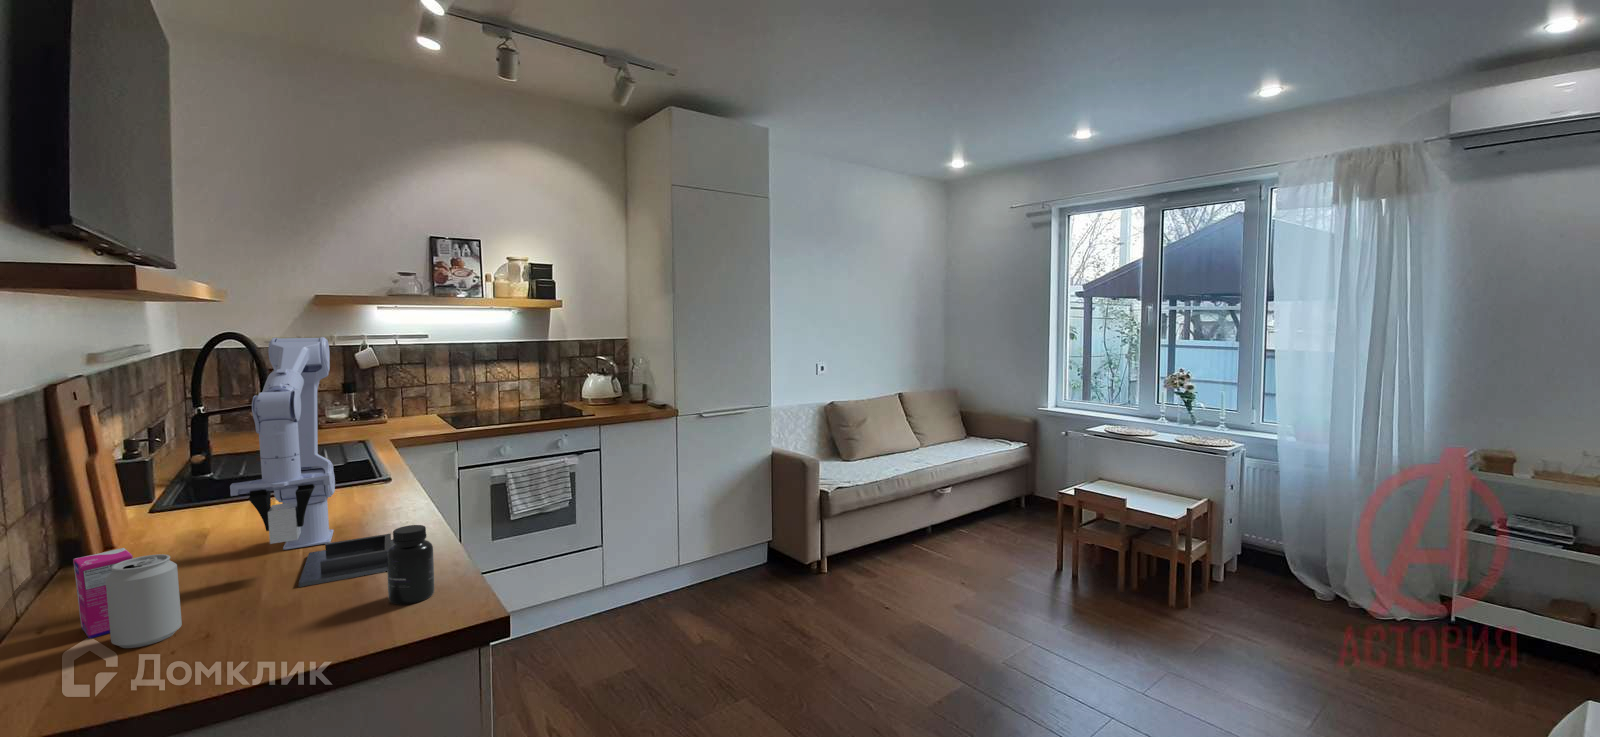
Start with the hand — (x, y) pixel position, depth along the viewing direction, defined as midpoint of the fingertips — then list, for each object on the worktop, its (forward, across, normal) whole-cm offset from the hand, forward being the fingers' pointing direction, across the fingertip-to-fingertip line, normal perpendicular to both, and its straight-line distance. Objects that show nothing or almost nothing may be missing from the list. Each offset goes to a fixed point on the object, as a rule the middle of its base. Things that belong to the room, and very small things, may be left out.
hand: (285, 527), depth 121 cm
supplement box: (+9, -20, -12) cm, 26 cm away
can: (+9, -14, -20) cm, 26 cm away
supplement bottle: (+9, +20, -25) cm, 33 cm away
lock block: (+2, 0, 0) cm, 2 cm away
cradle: (+9, +10, 0) cm, 14 cm away
